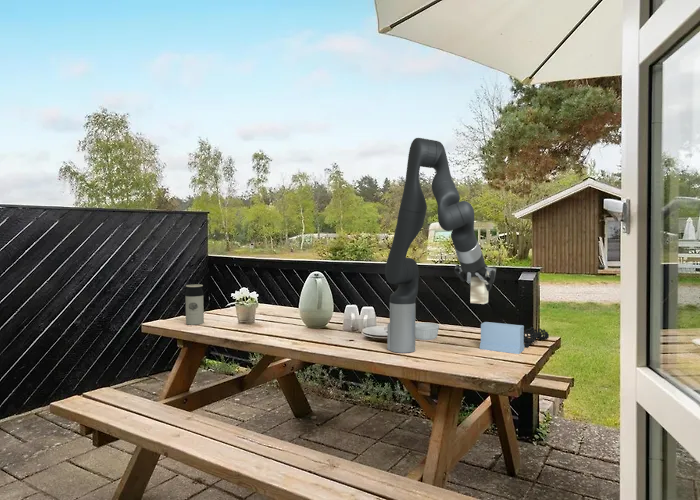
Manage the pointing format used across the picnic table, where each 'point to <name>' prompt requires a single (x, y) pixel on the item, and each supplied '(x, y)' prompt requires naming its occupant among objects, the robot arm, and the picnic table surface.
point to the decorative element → (534, 336)
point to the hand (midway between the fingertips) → (481, 288)
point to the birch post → (478, 291)
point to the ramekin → (426, 331)
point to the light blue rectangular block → (502, 337)
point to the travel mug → (194, 304)
